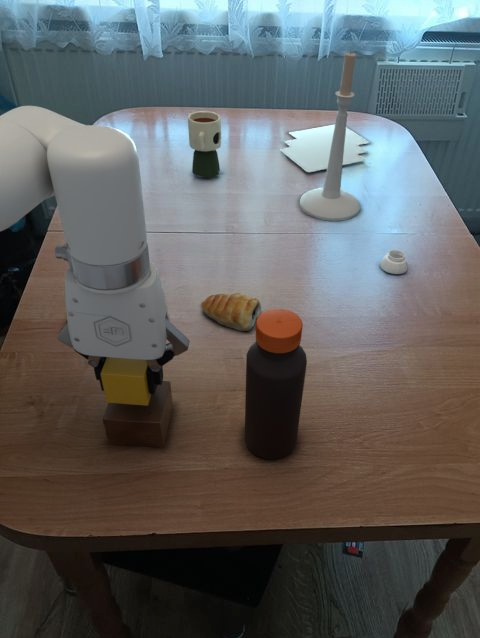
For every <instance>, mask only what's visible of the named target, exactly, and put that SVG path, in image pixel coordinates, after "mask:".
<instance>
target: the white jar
mask: <svg viewBox="0 0 480 638" xmlns="http://www.w3.org/2000/svg"><path fill="white" fill-rule="evenodd" d="M379 266H380V268H381V269H382V270H383V271H385V272H386V273H389V274H392V275H401V274H404V273H406V272H407V271H408V269H409V265H408V261H407V258H406V254H405V252H403V251H401V250H399V249H391V250H389V251H388V252H387V253H386V254H385V255H384V256H383V258H381V260H380V262H379Z"/></svg>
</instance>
